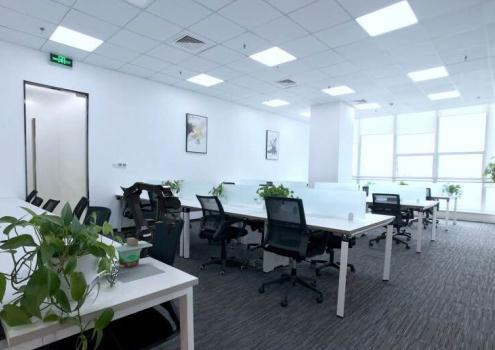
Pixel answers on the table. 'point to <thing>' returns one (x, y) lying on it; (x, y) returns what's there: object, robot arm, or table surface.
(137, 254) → the food container
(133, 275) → the mat
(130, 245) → the lid
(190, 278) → the table surface
